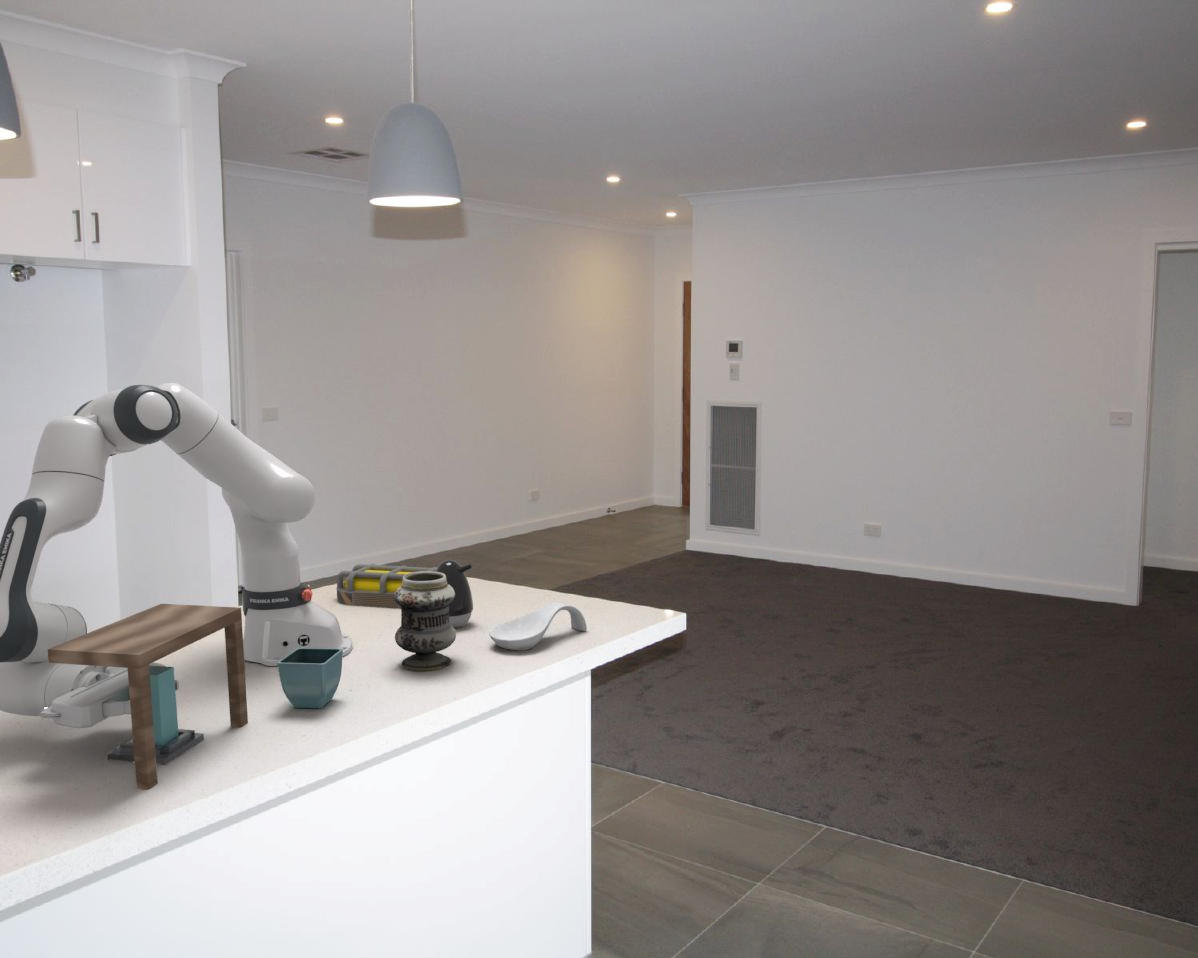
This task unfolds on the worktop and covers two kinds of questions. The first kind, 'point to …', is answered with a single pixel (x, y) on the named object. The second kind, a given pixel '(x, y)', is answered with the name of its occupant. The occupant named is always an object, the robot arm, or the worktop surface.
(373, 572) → the cage light
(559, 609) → the spoon rest
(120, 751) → the seat cradle
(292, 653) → the flower pot
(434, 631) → the apothecary jar
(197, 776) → the worktop surface
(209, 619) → the overhang shelf
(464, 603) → the black rounded upright piece
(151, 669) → the teal box
